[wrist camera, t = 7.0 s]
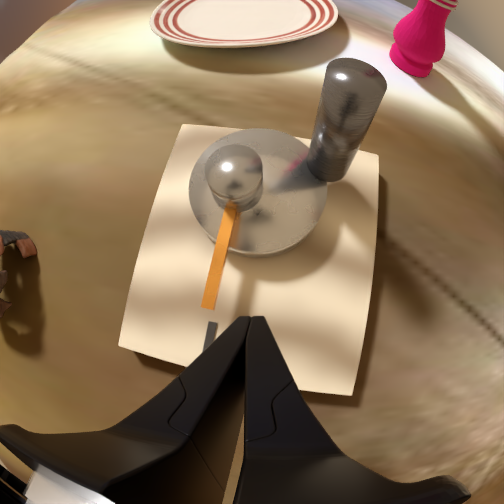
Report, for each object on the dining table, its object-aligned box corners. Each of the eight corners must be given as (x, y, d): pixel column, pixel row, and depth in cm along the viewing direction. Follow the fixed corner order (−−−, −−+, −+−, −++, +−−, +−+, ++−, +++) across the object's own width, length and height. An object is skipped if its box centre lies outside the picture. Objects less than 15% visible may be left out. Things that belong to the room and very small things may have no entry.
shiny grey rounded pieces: (377, 256, 21) (460, 198, 10) (209, 314, 20) (153, 302, 10) (315, 125, 24) (337, 26, 13) (170, 167, 23) (120, 75, 13)
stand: (344, 390, 20) (352, 396, 18) (129, 344, 22) (117, 345, 20) (371, 166, 25) (378, 154, 23) (187, 136, 27) (182, 123, 25)
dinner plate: (209, -17, 37) (207, -30, 34) (349, 5, 34) (352, -9, 31) (119, 57, 32) (112, 41, 28) (305, 88, 28) (308, 67, 25)
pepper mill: (433, 64, 29) (479, -33, 10) (429, 88, 28) (487, -25, 9) (390, 42, 30) (423, -62, 11) (381, 62, 29) (420, -60, 10)
